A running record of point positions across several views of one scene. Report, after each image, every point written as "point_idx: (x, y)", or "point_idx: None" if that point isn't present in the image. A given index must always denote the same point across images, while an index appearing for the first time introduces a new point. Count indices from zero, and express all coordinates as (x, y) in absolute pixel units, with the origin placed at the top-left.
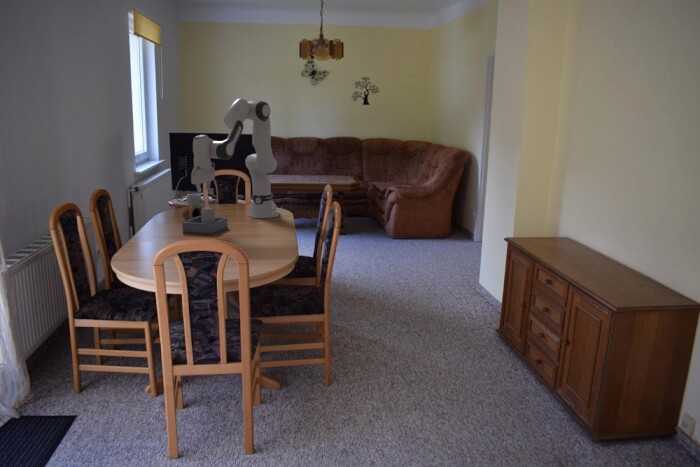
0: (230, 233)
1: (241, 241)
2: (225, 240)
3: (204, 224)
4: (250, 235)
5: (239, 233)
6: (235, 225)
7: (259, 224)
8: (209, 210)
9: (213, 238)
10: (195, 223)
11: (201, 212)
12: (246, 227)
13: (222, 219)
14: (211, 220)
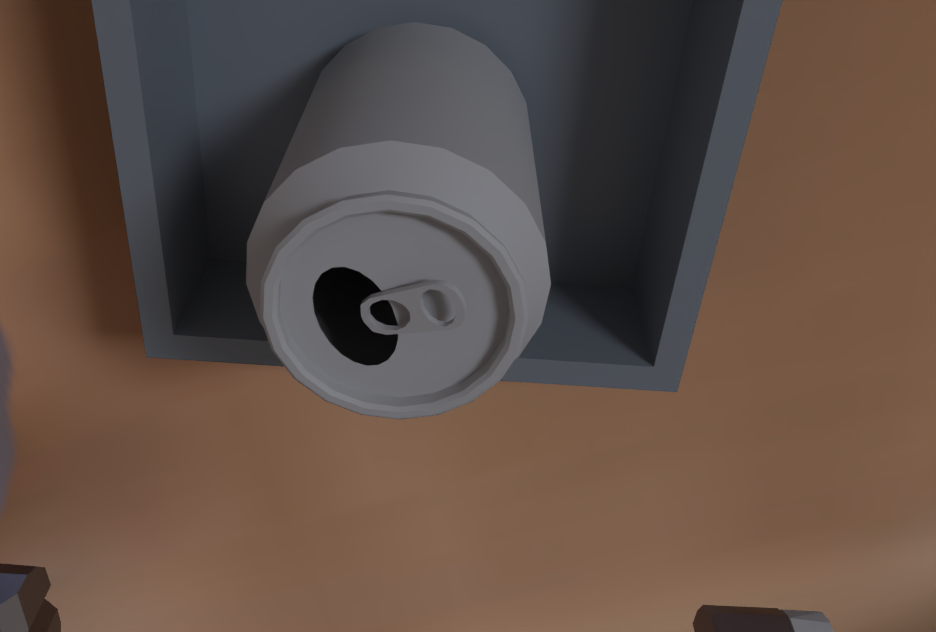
0: (351, 417)
1: (52, 597)
2: (13, 471)
3: (131, 226)
4: (319, 599)
5: (378, 496)
6: (837, 331)
7: (885, 547)
8: (309, 365)
9: (32, 333)
10: (103, 56)
11: (285, 176)
12: (709, 475)
13: (534, 370)
14: (336, 281)
